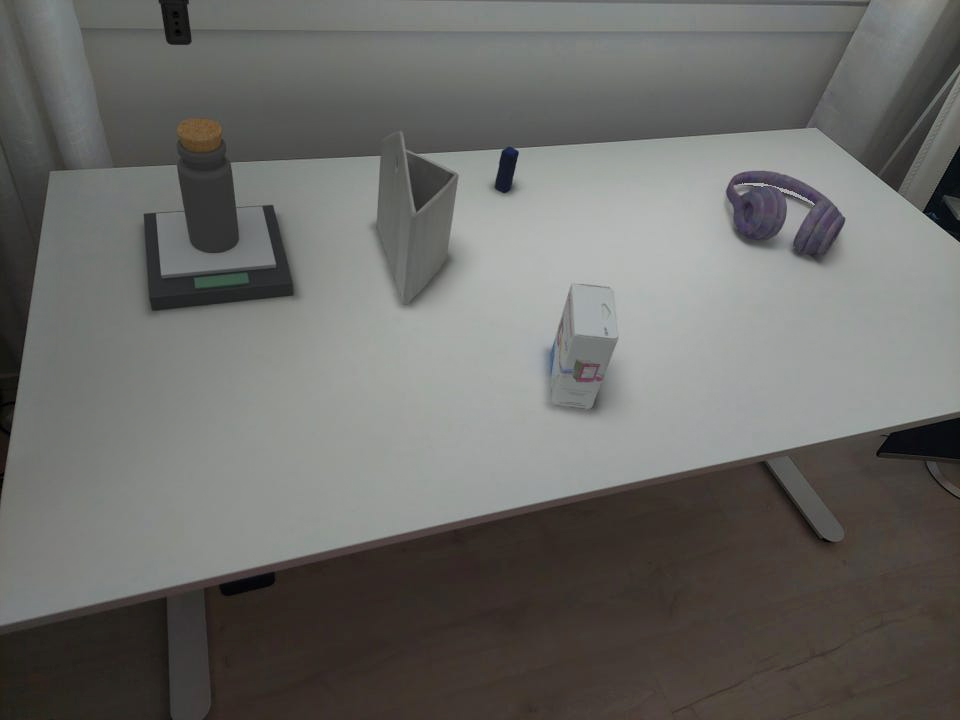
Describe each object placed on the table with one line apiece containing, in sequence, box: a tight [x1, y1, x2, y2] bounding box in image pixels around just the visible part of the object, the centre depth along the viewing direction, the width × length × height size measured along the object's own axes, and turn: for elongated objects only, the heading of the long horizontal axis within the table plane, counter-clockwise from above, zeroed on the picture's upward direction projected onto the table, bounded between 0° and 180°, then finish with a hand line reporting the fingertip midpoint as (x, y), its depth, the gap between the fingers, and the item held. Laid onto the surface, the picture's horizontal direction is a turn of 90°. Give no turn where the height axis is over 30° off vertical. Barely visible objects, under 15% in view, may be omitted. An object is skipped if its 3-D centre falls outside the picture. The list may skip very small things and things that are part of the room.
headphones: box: [725, 170, 846, 256], centre depth 115 cm, size 18×8×20 cm
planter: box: [375, 130, 460, 306], centre depth 89 cm, size 16×8×19 cm, turn 18°
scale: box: [143, 204, 294, 312], centre depth 89 cm, size 16×16×3 cm
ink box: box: [549, 282, 619, 410], centre depth 81 cm, size 9×5×12 cm, turn 178°
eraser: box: [494, 146, 520, 194], centre depth 109 cm, size 2×2×7 cm
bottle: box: [175, 117, 239, 253], centre depth 83 cm, size 6×6×15 cm
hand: (176, 23), depth 69 cm, fingers open, 8 cm apart
